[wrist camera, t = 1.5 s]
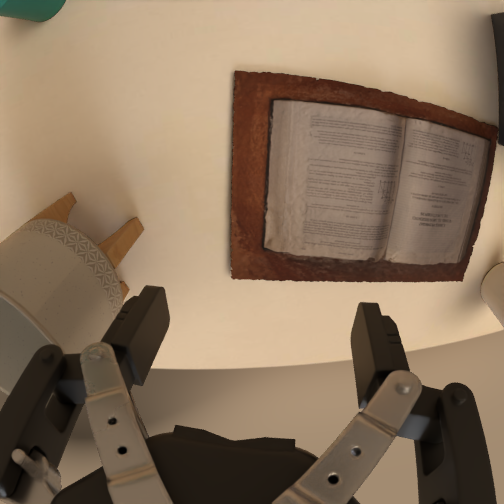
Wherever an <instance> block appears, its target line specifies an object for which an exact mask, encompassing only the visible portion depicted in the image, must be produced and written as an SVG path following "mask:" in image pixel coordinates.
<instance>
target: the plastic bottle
mask: <svg viewBox="0 0 504 504" xmlns="http://www.w3.org/2000/svg"><path fill="white" fill-rule="evenodd" d="M65 1H66V0H0V16H4V17H12V18H19V19H25V20H31V21H37V22H43V21H46V20H48V19H50V18H51V17H53V16H54V15H55V14H56V13H57V12H58V11H59V10H60V9H61V8H62V6H63V5H64V3H65Z"/></svg>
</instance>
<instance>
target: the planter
mask: <svg viewBox="0 0 504 504" xmlns="http://www.w3.org/2000/svg"><path fill="white" fill-rule="evenodd" d="M75 203H76V200H75V198H74V196H73V194H72V193H71V192H70V193H68V194H67V195H65V196H64V197H62V198H61V199H59V200H58V201H56V202H55V203H53V204H52V205H51V206H49V207H48V208H46V209H45V210H43V211H42V212H40V213H39V214H38V215H36V216H35V217H33V218H32V219H31V220H29V221H28V222H27V223H25V224H24V225H23V226H21V227H20V228H19V229H18V230H16V231H15V232H14V233H12V234H11V235H10V236H9V237H7V238H6V239H5V240H4V241H2V242H1V243H0V390H2V391H3V392H4V393H6V394H7V395H10V393H11V391H12V390H13V388H14V386H15V385H16V383H17V381H18V380H19V378H20V376H21V375H22V373H23V371H24V370H25V368H26V366H27V365H28V363H29V362H30V360H31V359H32V357H33V355H34V354H35V352H36V351H37V350H38V349H39V348H41V347H42V346H45V345H48V344H55V345H57V346H59V347H60V348H61V349H62V351H63V353H64V354H77V353H81V352H82V351H83V349H84V348H85V347H87V346H88V345H90V344H93V343H96V342H100V341H101V339H102V338H103V336H104V335H105V333H106V331H107V330H108V328H109V327H110V325H111V323H112V322H113V320H114V319H115V318H116V316H117V314H118V313H119V312H120V309H121V308H122V306H123V301H124V299H125V297H126V295H127V293H128V292H129V288H128V287H127V285H126V284H125V282H124V281H123V282H121V283H120V281H119V279H118V277H117V274H116V272H115V270H114V269H115V268H116V267H117V266H118V265H119V263H120V262H121V260H122V259H123V258H124V256H125V255H126V253H127V252H128V251H129V249H130V248H131V247H132V245H133V244H134V243H135V241H136V240H137V238H138V237H139V236H140V234H141V233H142V232H143V230H144V228H143V226H142V225H141V223H140V221H139V219H138V218H137V217H136V218H134V219H132V220H130V221H128V222H127V223H126V224H125V225H124V226H123V227H122V228H120V229H119V230H118V231H117V232H116V233H114V234H113V235H112V236H110V237H109V238H108V239H106V240H105V241H104V242H102V243H101V244H99V245H98V246H97V245H96V244H95V243H94V242H93V241H92V240H91V239H90V238H89V237H88V236H87V235H85V234H84V233H82V232H81V231H80V230H78V229H76V228H75V227H73V226H71V225H69V224H67V220H68V215H69V212H70V210H71V208H72V206H73V205H74V204H75ZM52 395H53V393H52ZM52 395H51V397H52ZM51 397H50V398H51ZM49 400H50V399H49ZM48 402H49V401H48ZM47 404H48V403H47ZM46 406H47V405H46ZM45 408H46V407H45Z"/></svg>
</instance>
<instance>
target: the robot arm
mask: <svg viewBox="0 0 504 504" xmlns="http://www.w3.org/2000/svg"><path fill="white" fill-rule="evenodd" d="M169 322H170V315H169V310H168V304H167V299H166V294H165V289H164V288H163V287H157V286H148V285H146V286H145V287H144V288H143V290H142V292H141V293H140V295H139V296H133V297H132V298H130V299H129V300H128V301H126V302H125V303H124V305H123V306H122V308H121V309H120V312H119V313H118V314H117V316H116V318H115V319H114V320H113V322H112V323H111V325H110V327H109V328H108V330H107V331H106V333H105V335H104V336H103V338H102V339H101V341H100V342H96V343H93V344H90V345H88V346H87V347H85V348H84V349H83V351H82V352H81V353H77V354H64V353H63V351H62V349H61V348H60V347H59V346H57V345H55V344H48V345H45V346H42V347H41V348H39V349H38V350H37V351H36V352H35V354H34V355H33V357H32V359H31V360H30V362H29V363H28V365H27V366H26V368H25V370H24V371H23V373H22V375H21V376H20V378H19V380H18V381H17V383H16V385H15V386H14V388H13V390H12V391H11V393H10V395H9V397H8V398H7V400H6V402H5V404H4V405H3V407H2V409H1V411H0V500H1V501H3V502H4V503H6V504H360V503H359V502H358V501H357V500H356V499H355V498H354V496H353V495H354V494H355V492H356V491H357V490H358V488H359V487H360V486H361V485H362V484H363V482H364V481H365V480H366V478H367V477H368V476H369V474H370V473H371V472H372V470H373V469H374V468H375V466H376V465H377V463H378V462H379V460H380V459H381V458H382V456H383V455H384V453H385V452H386V451H387V449H388V447H389V446H390V445H391V443H392V441H393V440H394V438H395V437H396V436H399V437H404V438H408V439H413V440H414V444H415V453H416V464H417V477H418V493H419V494H418V495H419V504H497V502H496V495H495V488H494V482H493V476H492V470H491V464H490V459H489V454H488V450H487V445H486V440H485V436H484V432H483V428H482V424H481V420H480V416H479V412H478V409H477V405H476V402H475V398H474V396H473V393H472V391H471V390H470V389H469V388H468V387H467V386H465V385H463V384H461V383H451V384H448V385H447V386H446V387H445V388H444V389H443V390H439V389H434V388H430V387H426V386H424V385H422V384H421V381H420V380H419V378H418V377H417V376H416V375H415V374H413V373H412V372H410V369H409V366H408V362H407V359H406V355H405V352H404V348H403V345H402V344H401V338H400V336H399V332H398V328H397V325H396V324H395V322H394V321H393V320H392V319H391V318H390V317H389V316H382V315H381V311H380V308H379V305H378V303H366V302H360V303H359V305H358V308H357V312H356V316H355V320H354V324H353V327H352V332H351V349H352V356H353V364H354V371H355V378H356V388H357V396H358V405H359V409H360V408H364V409H363V410H362V412H359V413H358V414H357V415H356V416H355V417H354V418H353V420H352V421H351V422H350V423H349V424H348V426H347V427H346V428H345V429H344V430H343V431H342V433H341V434H340V435H339V436H338V437H337V439H336V440H335V441H334V442H333V443H332V444H331V445H330V447H329V448H328V449H327V450H326V451H325V452H324V453H323V454H322V455H321V457H320V458H318V457H316V456H315V455H314V454H312V453H310V452H308V451H306V450H303V449H301V448H297V447H295V439H281V438H268V437H267V438H266V437H264V438H256V439H247V440H237V441H233V440H229V439H226V438H224V437H221V436H218V435H216V434H213V433H211V432H208V431H206V430H202V429H196V428H190V427H184V426H179V425H175V428H174V431H173V432H169V433H162V434H158V435H155V436H152V437H149V435H148V433H147V431H146V429H145V426H144V424H143V422H142V419H141V417H140V414H139V412H138V409H137V407H136V404H135V402H134V399H133V396H132V393H131V391H130V390H131V388H132V386H133V384H135V385H140V386H143V384H144V382H145V379H146V377H147V375H148V372H149V370H150V368H151V366H152V363H153V361H154V359H155V357H156V354H157V352H158V350H159V348H160V345H161V343H162V341H163V339H164V337H165V334H166V332H167V330H168V327H169ZM52 393H53V395H52ZM51 395H52V397H51ZM50 397H51V398H50ZM49 399H50V400H49ZM48 401H49V402H48ZM47 403H48V404H47ZM84 404H86V408H87V413H88V417H89V421H90V425H91V428H92V431H93V436H94V439H95V442H96V446H97V449H98V453H99V456H100V459H101V462H102V465H103V466H102V467H100V468H99V469H97V470H95V471H94V472H92V473H90V474H89V475H87V476H85V477H83V478H82V479H80V480H78V481H77V482H75V483H73V484H71V485H69V486H67V487H66V488H64V489H62V490H61V487H62V486H61V476H60V472H59V471H58V469H57V468H58V465H59V463H60V460H61V457H62V455H63V452H64V450H65V447H66V445H67V442H68V440H69V438H70V435H71V433H72V430H73V428H74V426H75V423H76V421H77V419H78V416H79V414H80V412H81V410H82V407H83V405H84ZM46 405H47V406H46ZM45 407H46V408H45ZM60 490H61V491H60Z"/></svg>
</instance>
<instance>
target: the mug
mask: <svg viewBox="0 0 504 504" xmlns="http://www.w3.org/2000/svg"><path fill="white" fill-rule="evenodd" d="M481 296H482V299H483V300H484V301H485V303H486V304H487V305H488V307H489V308H490V309H491V311H492V312H493V313H494V315H495V316H496V317H497V319H498V320H499V321H500V323H501V324H502V326H503V327H504V263H500V264H498V265H496V266H494V267H493V268H492V269H491V270H490V271H489V272H488V274H487V275H486V276H485V278H484V280H483V283H482V286H481Z"/></svg>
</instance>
